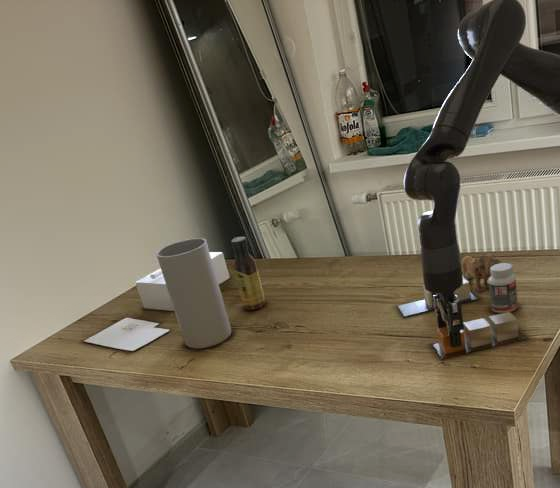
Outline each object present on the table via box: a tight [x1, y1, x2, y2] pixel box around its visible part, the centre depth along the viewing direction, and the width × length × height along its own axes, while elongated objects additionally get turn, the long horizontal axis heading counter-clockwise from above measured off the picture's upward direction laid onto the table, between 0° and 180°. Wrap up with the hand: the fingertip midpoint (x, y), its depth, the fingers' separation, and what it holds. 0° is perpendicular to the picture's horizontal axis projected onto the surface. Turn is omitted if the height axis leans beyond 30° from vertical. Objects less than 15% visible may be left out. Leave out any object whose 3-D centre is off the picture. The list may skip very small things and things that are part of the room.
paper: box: [83, 317, 170, 352], centre depth 192 cm, size 25×17×1 cm
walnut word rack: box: [432, 312, 527, 360], centre depth 141 cm, size 18×7×4 cm, turn 94°
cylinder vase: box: [156, 237, 232, 350], centre depth 171 cm, size 12×12×25 cm
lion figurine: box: [461, 253, 502, 292], centre depth 166 cm, size 15×5×9 cm, turn 26°
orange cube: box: [436, 327, 466, 354], centre depth 141 cm, size 4×4×4 cm
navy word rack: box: [397, 276, 478, 318], centre depth 163 cm, size 18×7×4 cm, turn 94°
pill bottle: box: [488, 262, 518, 314], centre depth 151 cm, size 6×6×10 cm
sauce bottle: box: [230, 236, 266, 311], centre depth 185 cm, size 7×6×20 cm
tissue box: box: [134, 251, 231, 312], centre depth 211 cm, size 14×25×11 cm, turn 142°
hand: (449, 338), depth 141 cm, fingers open, 8 cm apart
